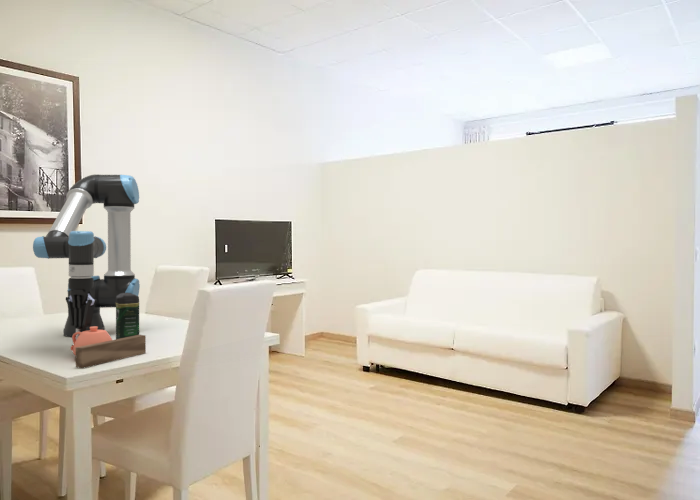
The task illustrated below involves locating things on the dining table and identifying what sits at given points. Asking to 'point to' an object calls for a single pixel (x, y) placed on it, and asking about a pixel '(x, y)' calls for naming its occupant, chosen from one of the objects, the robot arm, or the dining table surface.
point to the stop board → (110, 350)
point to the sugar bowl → (89, 338)
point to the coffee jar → (127, 315)
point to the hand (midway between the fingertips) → (80, 347)
